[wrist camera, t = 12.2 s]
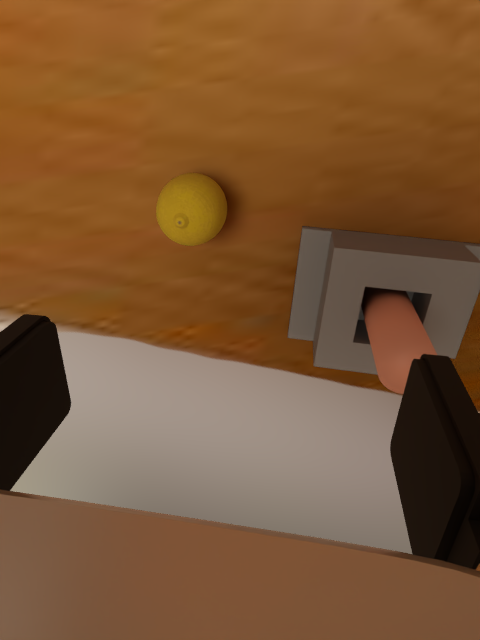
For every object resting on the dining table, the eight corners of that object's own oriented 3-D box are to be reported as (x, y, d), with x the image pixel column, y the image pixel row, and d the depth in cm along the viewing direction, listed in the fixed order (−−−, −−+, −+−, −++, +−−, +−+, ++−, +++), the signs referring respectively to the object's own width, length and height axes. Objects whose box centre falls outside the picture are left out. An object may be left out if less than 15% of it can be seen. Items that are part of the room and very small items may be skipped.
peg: (410, 278, 38) (448, 347, 27) (399, 318, 40) (431, 397, 29) (364, 273, 38) (384, 339, 28) (356, 313, 40) (372, 389, 30)
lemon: (160, 194, 38) (127, 216, 31) (205, 152, 36) (180, 165, 29) (201, 241, 40) (178, 272, 33) (246, 204, 38) (233, 228, 31)
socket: (491, 245, 36) (518, 266, 32) (452, 354, 42) (471, 386, 37) (302, 226, 38) (301, 244, 33) (288, 333, 43) (285, 362, 38)
